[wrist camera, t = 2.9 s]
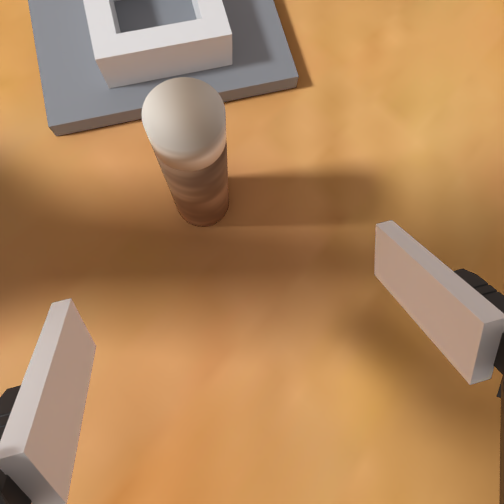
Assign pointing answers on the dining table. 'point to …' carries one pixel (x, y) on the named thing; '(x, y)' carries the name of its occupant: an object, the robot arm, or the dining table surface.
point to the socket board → (126, 103)
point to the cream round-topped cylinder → (190, 146)
